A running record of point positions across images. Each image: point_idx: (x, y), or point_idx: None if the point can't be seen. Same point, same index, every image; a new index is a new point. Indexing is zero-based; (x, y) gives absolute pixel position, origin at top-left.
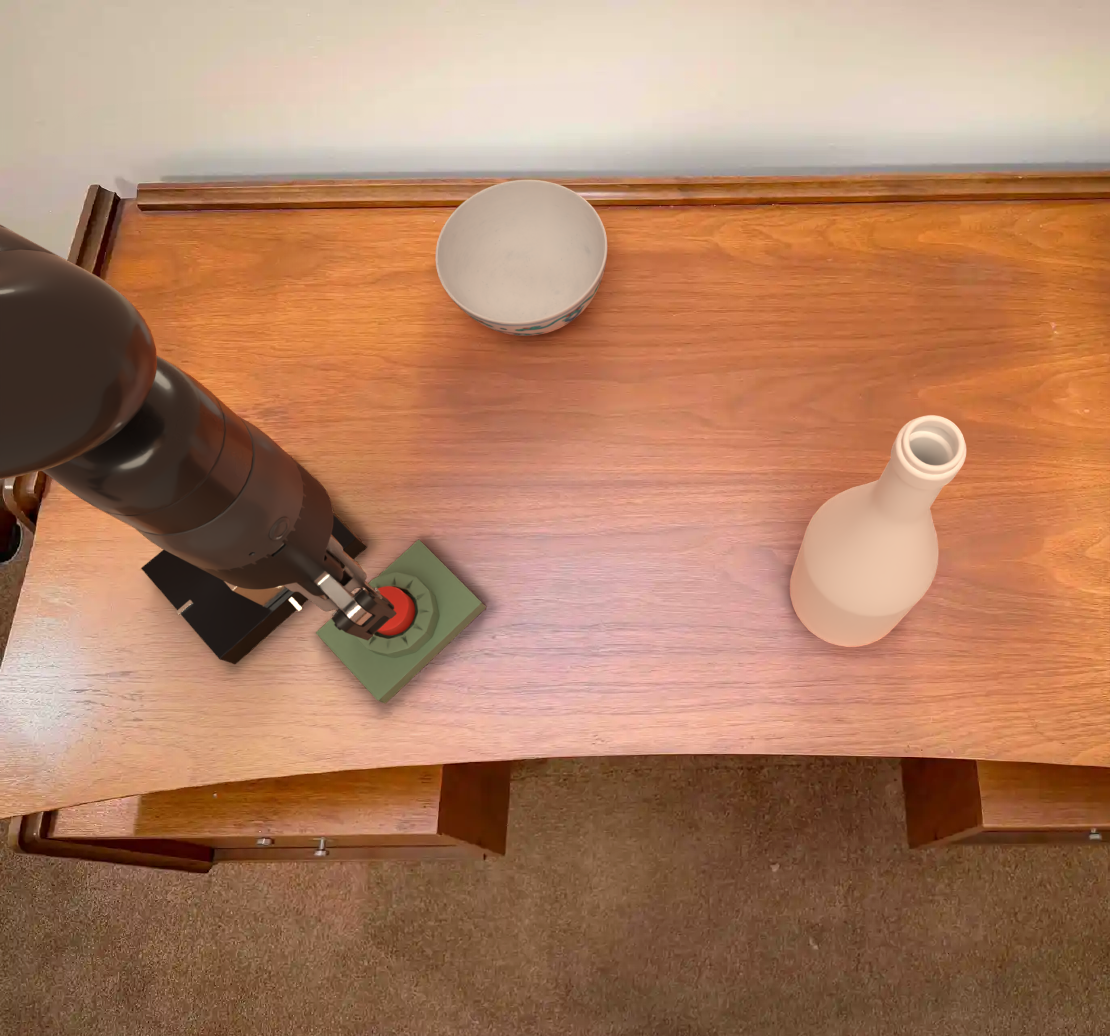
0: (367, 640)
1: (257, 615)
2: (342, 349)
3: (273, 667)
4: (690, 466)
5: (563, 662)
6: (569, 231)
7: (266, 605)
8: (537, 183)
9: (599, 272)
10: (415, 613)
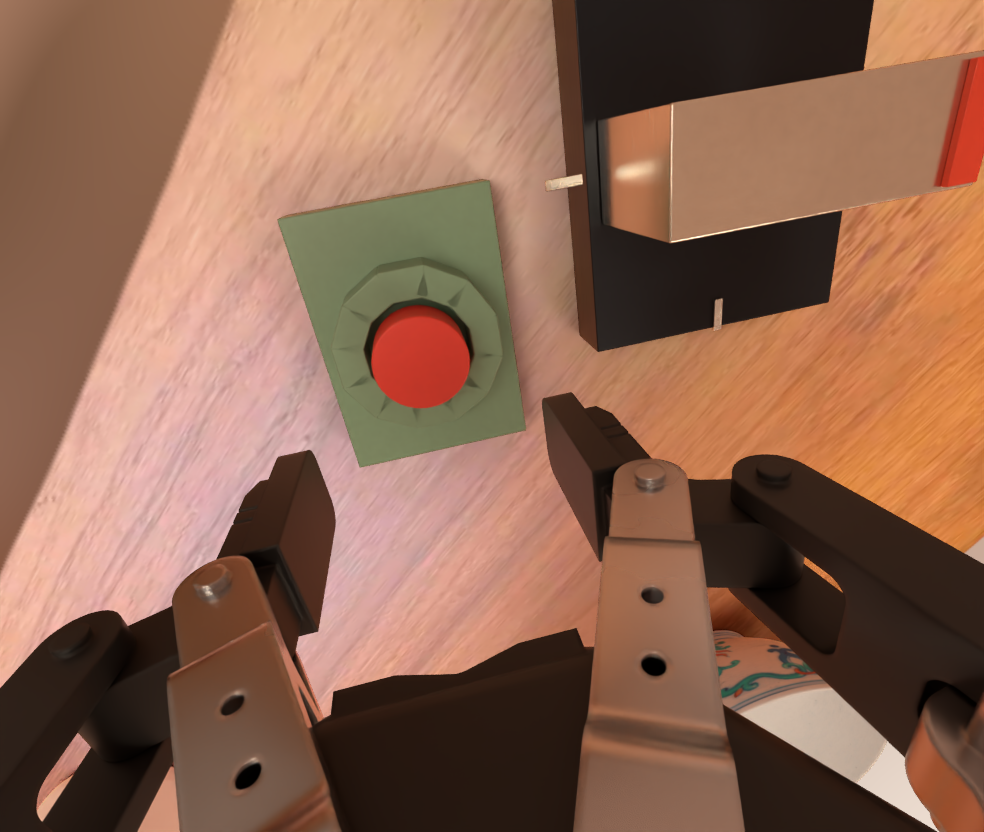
0: (37, 648)
1: (598, 90)
2: (861, 446)
3: (490, 42)
4: None
5: (207, 507)
6: None
7: (602, 125)
8: None
9: None
10: None
